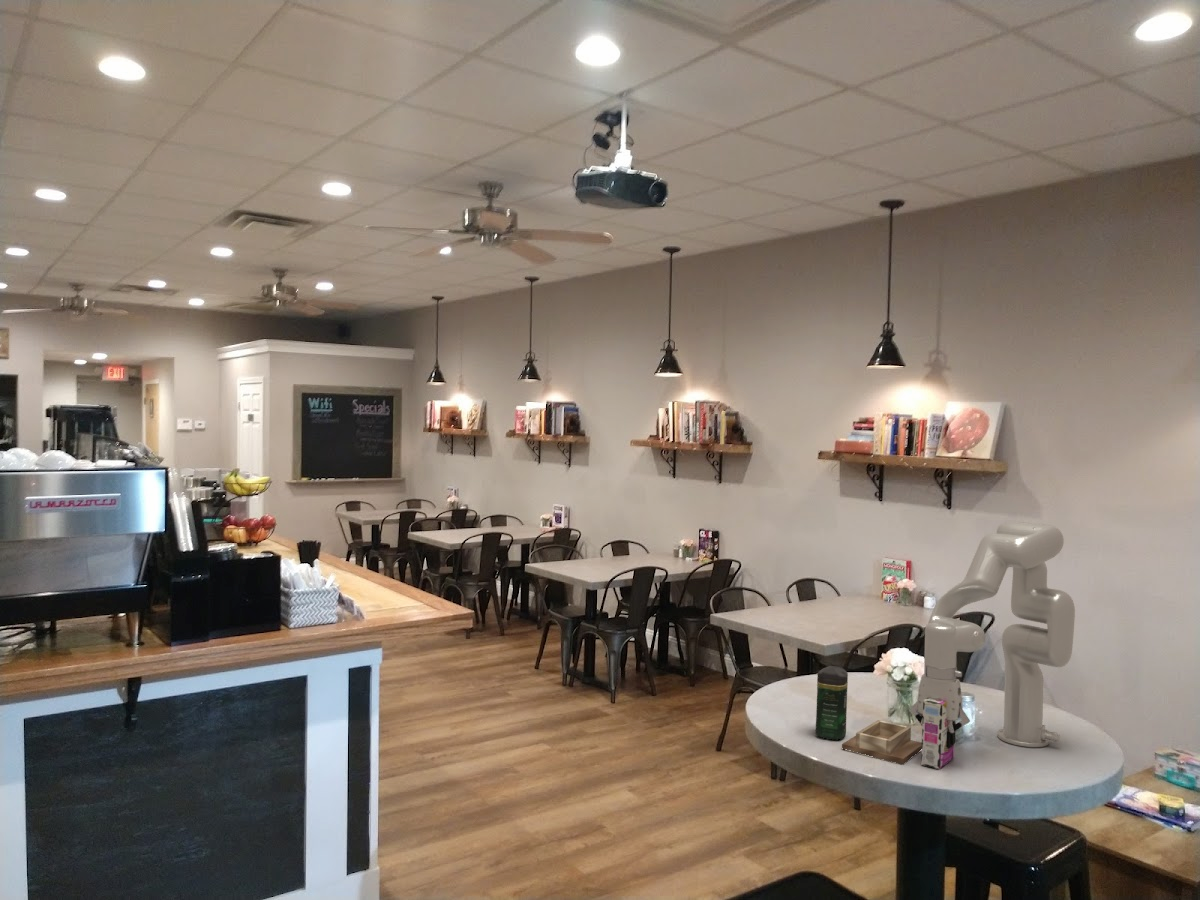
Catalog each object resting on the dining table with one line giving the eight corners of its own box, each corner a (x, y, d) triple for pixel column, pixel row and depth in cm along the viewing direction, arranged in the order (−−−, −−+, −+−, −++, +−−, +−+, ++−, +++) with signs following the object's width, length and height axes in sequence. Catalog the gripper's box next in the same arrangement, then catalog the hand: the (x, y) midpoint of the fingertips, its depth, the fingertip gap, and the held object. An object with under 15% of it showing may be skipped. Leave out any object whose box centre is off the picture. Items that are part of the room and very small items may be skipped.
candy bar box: (940, 770, 214) (942, 704, 214) (920, 765, 217) (921, 700, 217) (955, 758, 223) (956, 694, 223) (935, 754, 226) (936, 690, 226)
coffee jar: (842, 743, 233) (844, 673, 233) (812, 738, 236) (814, 669, 236) (848, 732, 241) (850, 666, 241) (820, 728, 245) (821, 662, 245)
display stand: (924, 748, 230) (924, 729, 230) (902, 764, 217) (903, 744, 217) (865, 735, 240) (866, 716, 240) (841, 749, 227) (842, 730, 227)
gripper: (979, 675, 217) (978, 748, 217) (911, 664, 228) (909, 733, 228) (970, 681, 212) (969, 756, 212) (901, 669, 222) (899, 740, 222)
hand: (938, 743), depth 220 cm, fingers closed on candy bar box, 5 cm apart
